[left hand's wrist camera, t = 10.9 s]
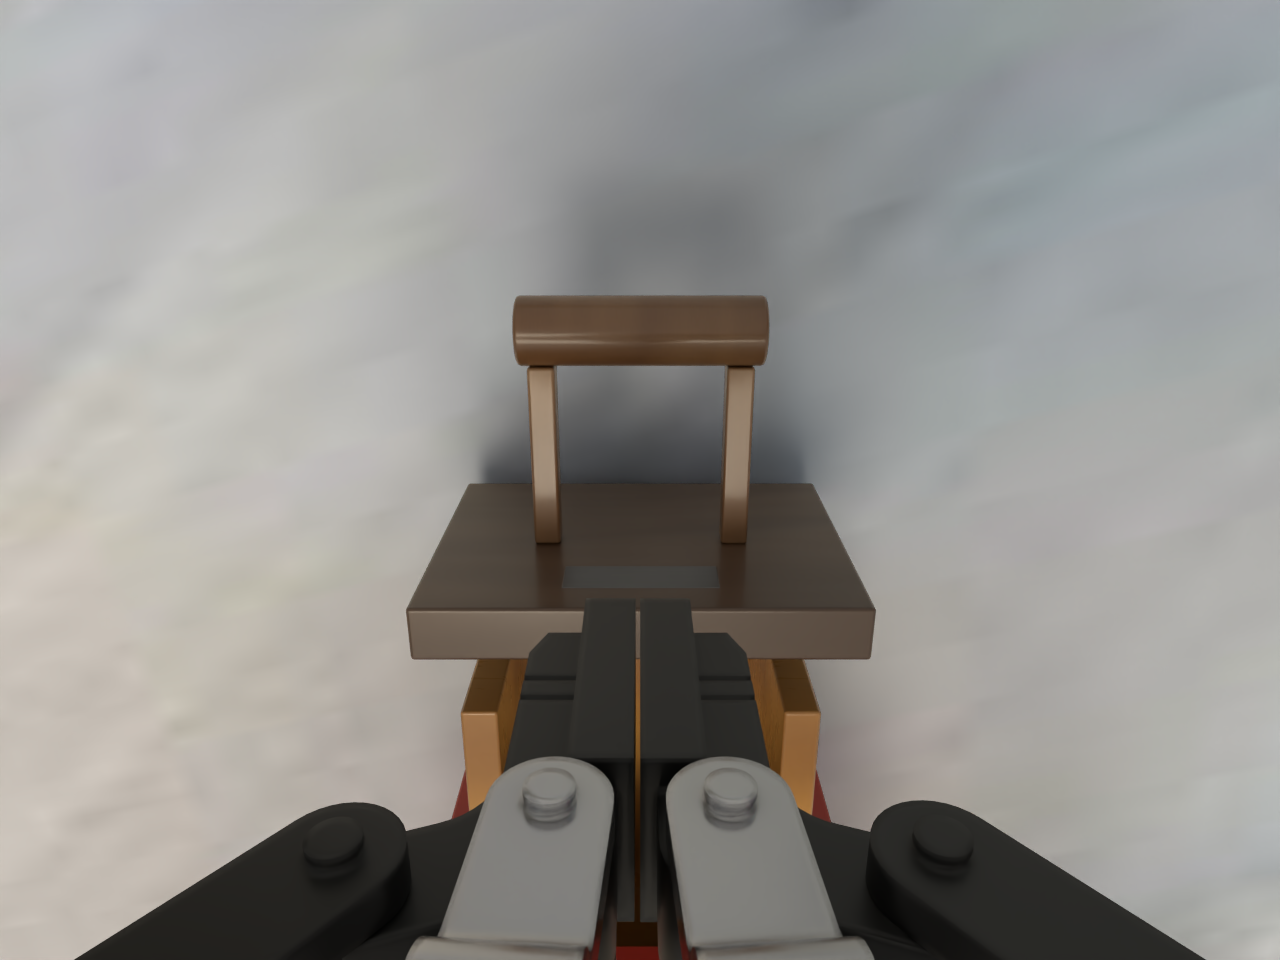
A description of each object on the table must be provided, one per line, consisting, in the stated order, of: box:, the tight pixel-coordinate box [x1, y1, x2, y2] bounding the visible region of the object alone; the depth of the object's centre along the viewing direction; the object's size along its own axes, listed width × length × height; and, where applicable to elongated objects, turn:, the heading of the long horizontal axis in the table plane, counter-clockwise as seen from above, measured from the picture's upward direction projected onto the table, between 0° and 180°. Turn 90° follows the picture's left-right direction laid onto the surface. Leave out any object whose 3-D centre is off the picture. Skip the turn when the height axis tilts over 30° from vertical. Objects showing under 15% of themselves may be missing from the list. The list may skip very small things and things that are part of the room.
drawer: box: [406, 296, 876, 946], centre depth 23 cm, size 25×9×7 cm, turn 0°
